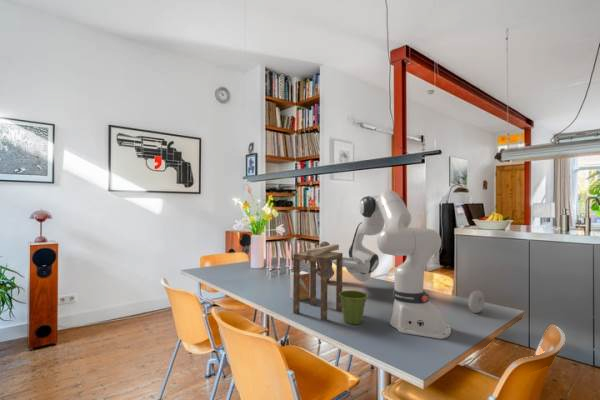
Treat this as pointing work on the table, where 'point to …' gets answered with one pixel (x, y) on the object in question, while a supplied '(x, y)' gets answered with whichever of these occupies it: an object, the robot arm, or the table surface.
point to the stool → (324, 261)
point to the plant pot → (353, 306)
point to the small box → (301, 285)
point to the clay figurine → (329, 269)
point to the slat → (322, 249)
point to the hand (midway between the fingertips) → (344, 256)
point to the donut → (476, 301)
